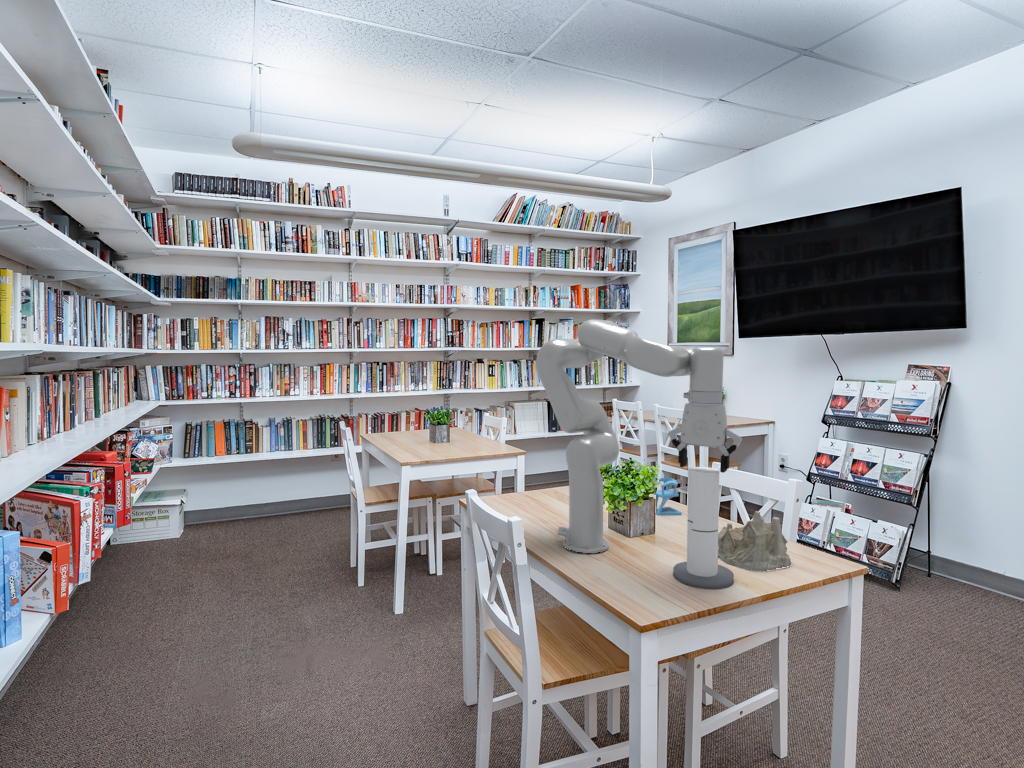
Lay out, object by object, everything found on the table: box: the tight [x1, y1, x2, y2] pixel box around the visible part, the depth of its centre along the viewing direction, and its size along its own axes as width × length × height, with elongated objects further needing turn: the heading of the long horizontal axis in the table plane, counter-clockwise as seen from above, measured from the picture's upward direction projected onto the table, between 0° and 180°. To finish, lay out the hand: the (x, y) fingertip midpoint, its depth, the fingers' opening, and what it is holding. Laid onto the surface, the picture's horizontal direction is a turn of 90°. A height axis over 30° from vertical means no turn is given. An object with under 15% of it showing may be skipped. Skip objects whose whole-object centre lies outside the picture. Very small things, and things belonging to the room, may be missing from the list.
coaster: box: [672, 561, 735, 590], centre depth 141 cm, size 14×14×2 cm
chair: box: [655, 477, 682, 516], centre depth 199 cm, size 8×8×12 cm
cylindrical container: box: [686, 466, 720, 577], centre depth 141 cm, size 7×7×25 cm
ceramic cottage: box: [718, 510, 792, 572], centre depth 153 cm, size 16×16×15 cm
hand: (703, 468), depth 140 cm, fingers open, 9 cm apart
